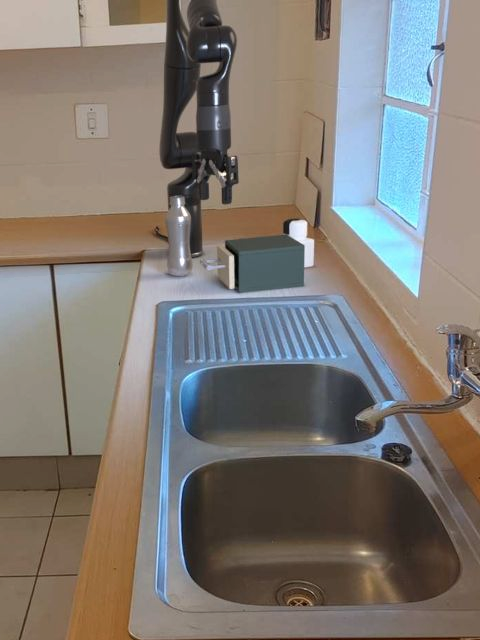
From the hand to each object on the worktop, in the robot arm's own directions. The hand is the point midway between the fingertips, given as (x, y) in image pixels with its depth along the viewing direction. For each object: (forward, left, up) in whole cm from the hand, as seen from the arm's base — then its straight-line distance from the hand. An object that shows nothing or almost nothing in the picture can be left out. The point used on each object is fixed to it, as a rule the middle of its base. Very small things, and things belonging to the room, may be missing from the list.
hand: (215, 201), depth 170 cm
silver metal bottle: (-18, -5, -21) cm, 28 cm away
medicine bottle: (-16, +25, -21) cm, 36 cm away
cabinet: (-4, +13, -21) cm, 25 cm away
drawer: (-4, +7, -20) cm, 22 cm away
